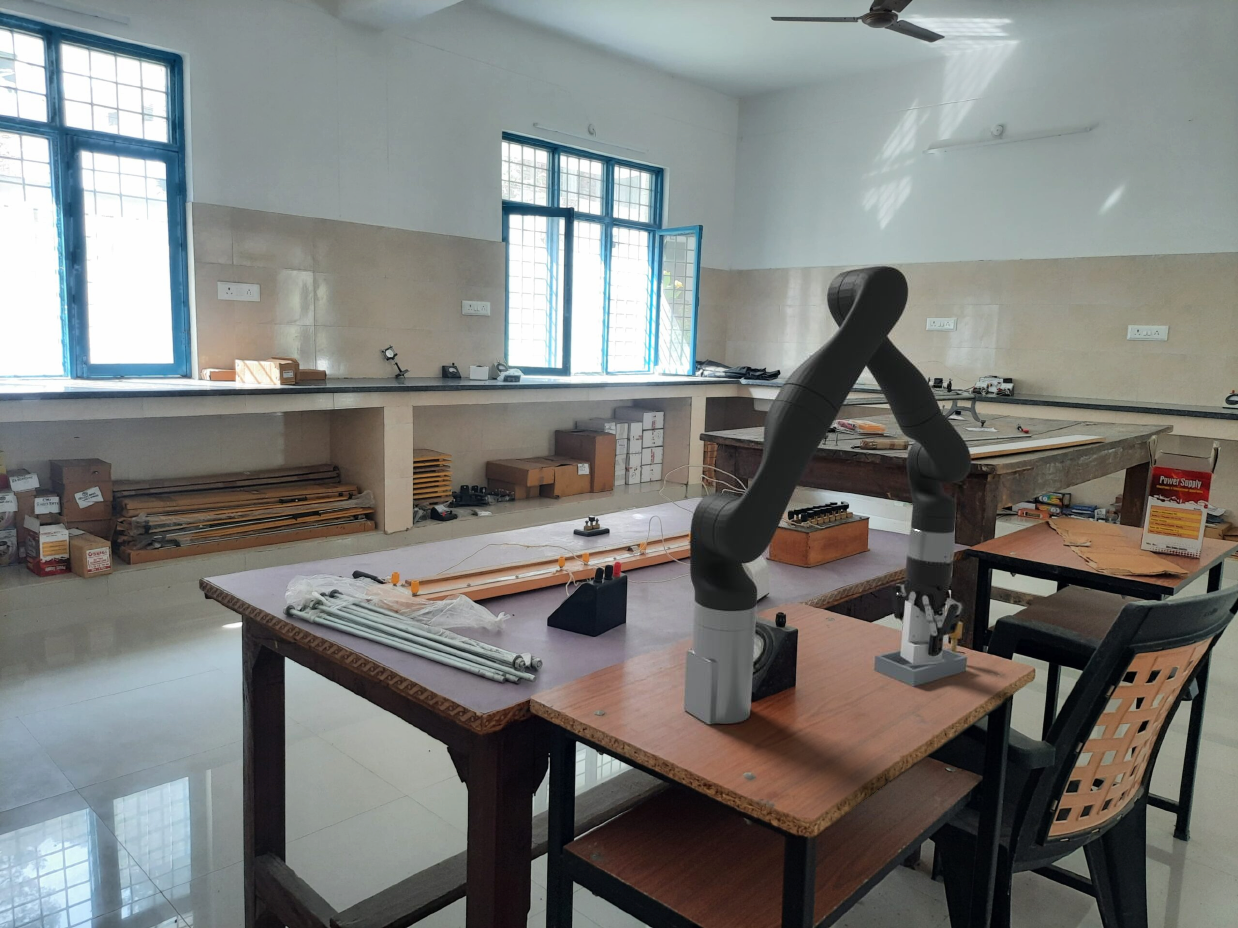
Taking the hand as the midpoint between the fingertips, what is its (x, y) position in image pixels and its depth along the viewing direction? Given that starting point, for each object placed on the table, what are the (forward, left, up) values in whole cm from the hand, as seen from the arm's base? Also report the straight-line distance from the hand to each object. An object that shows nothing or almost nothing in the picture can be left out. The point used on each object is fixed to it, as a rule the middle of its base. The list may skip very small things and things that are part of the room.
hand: (921, 649), depth 150 cm
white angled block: (0, 0, -2) cm, 2 cm away
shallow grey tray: (+2, 0, -4) cm, 4 cm away
